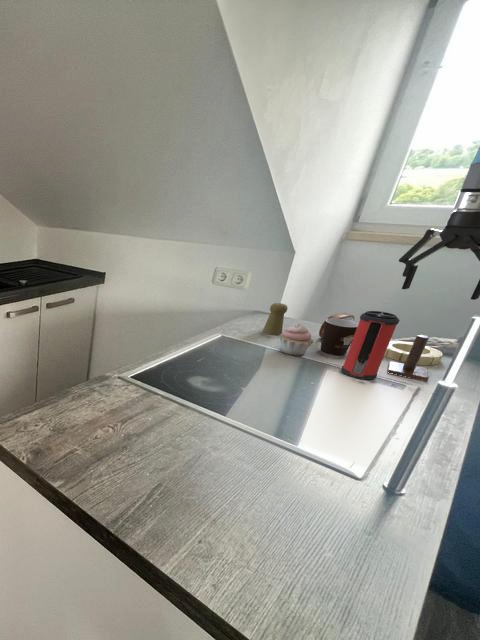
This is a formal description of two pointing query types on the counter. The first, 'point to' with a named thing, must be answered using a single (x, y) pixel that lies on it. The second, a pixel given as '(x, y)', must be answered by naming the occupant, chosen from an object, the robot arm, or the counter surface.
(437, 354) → the tape
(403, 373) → the peg stand
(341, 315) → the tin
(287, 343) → the cupcake
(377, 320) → the speaker
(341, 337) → the coffee mug
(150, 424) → the counter surface
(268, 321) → the cork
